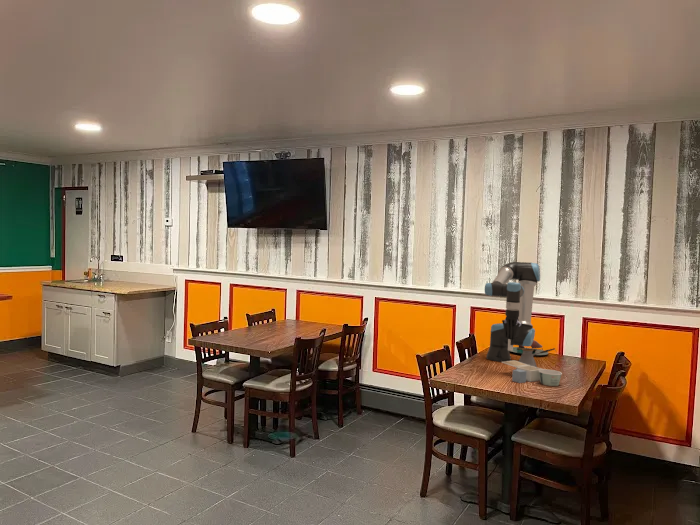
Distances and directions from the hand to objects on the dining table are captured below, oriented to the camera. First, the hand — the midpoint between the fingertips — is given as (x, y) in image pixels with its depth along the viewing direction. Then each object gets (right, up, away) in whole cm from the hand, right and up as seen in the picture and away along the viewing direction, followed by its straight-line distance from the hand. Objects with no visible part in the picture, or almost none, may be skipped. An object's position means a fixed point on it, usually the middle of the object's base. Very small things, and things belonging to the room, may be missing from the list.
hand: (510, 350), depth 315 cm
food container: (+15, -15, -22) cm, 30 cm away
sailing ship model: (+31, -13, +66) cm, 74 cm away
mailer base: (+7, -14, -12) cm, 20 cm away
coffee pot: (+16, -14, +6) cm, 23 cm away
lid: (+2, -7, -4) cm, 8 cm away
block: (-1, -14, -20) cm, 24 cm away
